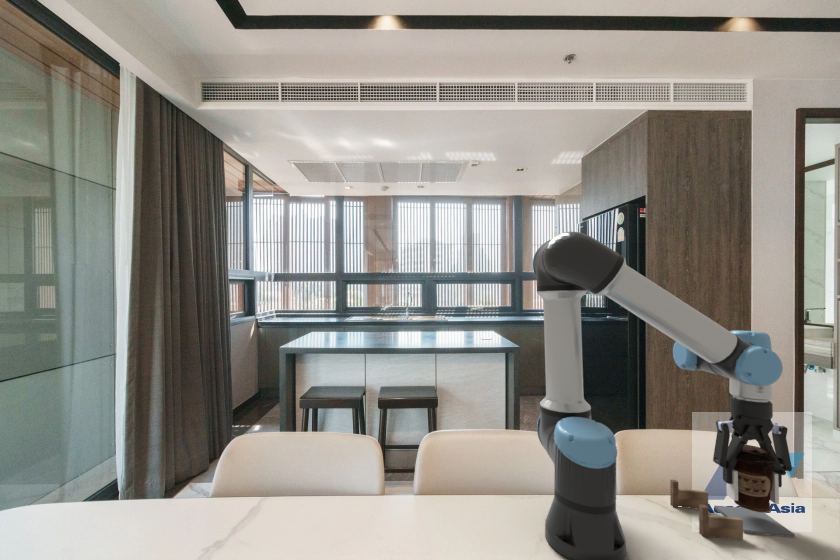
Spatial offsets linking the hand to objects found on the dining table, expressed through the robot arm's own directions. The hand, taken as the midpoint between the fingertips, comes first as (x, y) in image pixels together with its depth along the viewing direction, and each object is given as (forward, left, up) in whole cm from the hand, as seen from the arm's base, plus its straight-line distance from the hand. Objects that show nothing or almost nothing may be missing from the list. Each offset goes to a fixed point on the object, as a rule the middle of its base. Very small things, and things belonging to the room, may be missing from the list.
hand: (752, 499), depth 88 cm
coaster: (0, 0, -5) cm, 5 cm away
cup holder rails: (-11, -2, -5) cm, 12 cm away
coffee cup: (0, 0, -2) cm, 2 cm away
